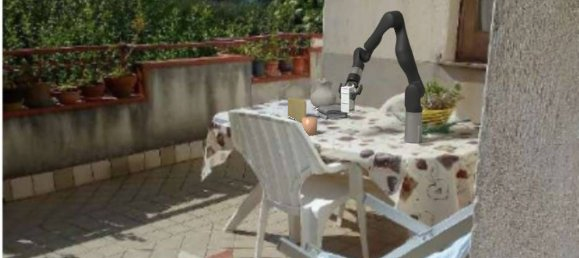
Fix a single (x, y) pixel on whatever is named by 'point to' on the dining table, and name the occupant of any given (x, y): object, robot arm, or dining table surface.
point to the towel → (331, 112)
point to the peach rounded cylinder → (310, 125)
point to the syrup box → (347, 99)
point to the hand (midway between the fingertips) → (346, 99)
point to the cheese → (296, 108)
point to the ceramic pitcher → (323, 93)
